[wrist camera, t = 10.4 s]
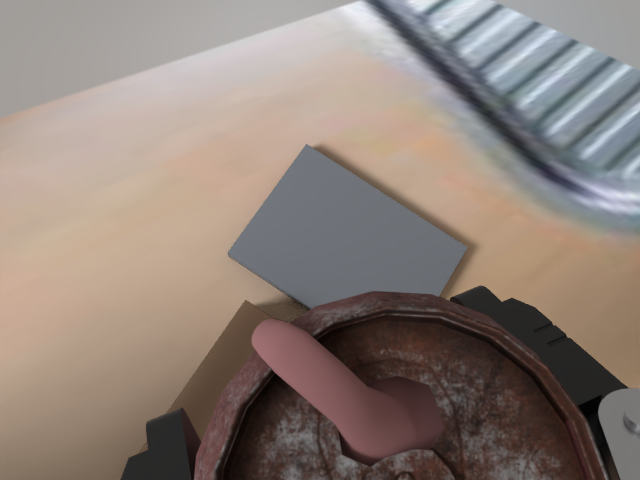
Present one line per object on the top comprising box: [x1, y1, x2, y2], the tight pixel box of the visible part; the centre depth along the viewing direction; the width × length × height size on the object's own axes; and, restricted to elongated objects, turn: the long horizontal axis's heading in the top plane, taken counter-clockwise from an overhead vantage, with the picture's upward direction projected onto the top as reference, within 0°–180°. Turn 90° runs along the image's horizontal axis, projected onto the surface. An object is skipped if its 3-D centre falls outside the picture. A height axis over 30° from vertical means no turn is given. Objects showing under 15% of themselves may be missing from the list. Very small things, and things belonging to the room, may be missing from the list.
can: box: [194, 291, 610, 480], centre depth 14 cm, size 6×6×14 cm
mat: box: [228, 144, 468, 310], centre depth 39 cm, size 14×10×1 cm
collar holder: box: [139, 300, 274, 453], centre depth 34 cm, size 14×14×4 cm
